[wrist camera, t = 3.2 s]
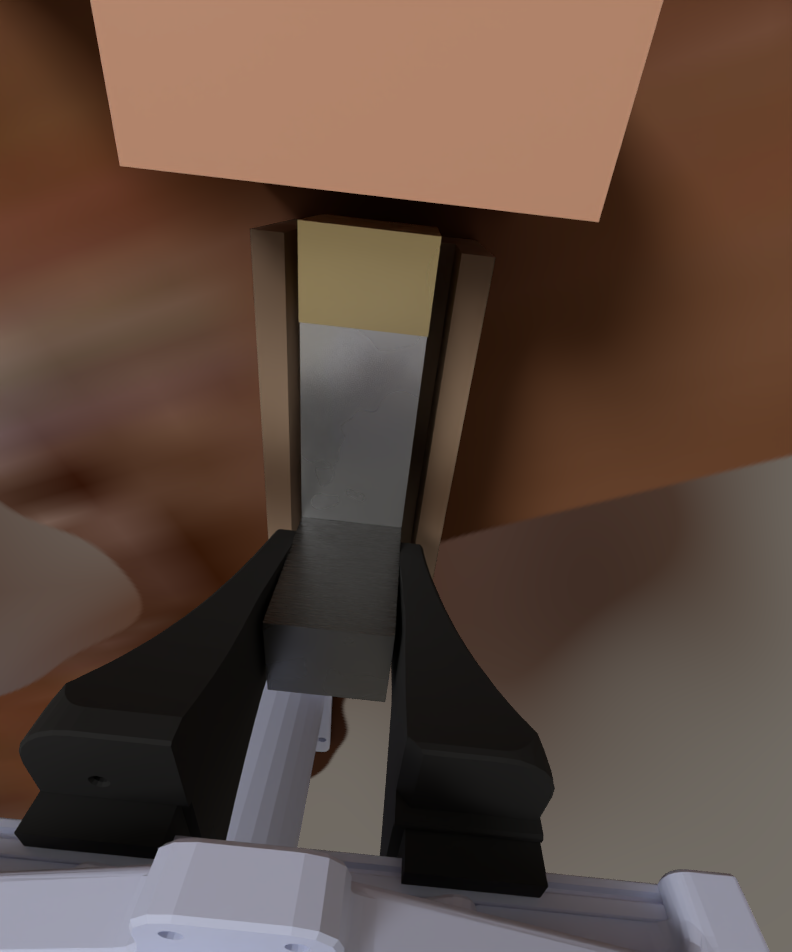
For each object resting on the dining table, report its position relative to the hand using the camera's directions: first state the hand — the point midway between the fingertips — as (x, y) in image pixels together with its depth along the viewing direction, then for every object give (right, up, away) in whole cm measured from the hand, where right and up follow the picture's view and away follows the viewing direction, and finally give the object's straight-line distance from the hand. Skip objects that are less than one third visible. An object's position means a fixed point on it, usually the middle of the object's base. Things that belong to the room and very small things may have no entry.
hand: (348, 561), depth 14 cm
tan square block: (+1, +13, -1) cm, 13 cm away
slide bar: (0, +4, +2) cm, 4 cm away
